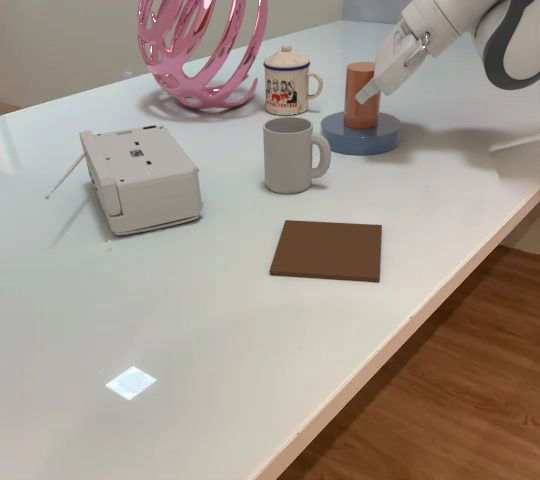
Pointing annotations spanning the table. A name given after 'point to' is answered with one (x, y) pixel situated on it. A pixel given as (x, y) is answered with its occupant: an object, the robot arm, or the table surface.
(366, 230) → the mat
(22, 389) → the table surface
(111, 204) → the radio
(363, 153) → the stand
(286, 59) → the teacup with lid
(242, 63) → the spiral basket
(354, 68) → the orange upright cylinder
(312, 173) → the cup
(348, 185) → the table surface
